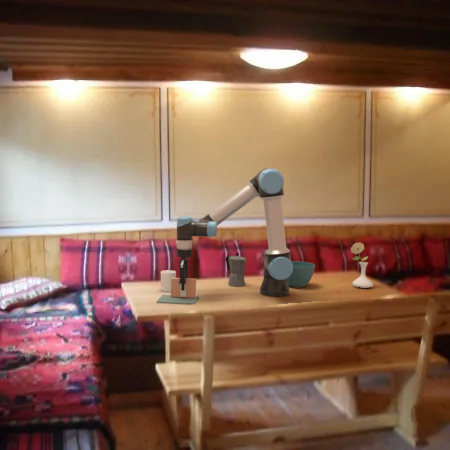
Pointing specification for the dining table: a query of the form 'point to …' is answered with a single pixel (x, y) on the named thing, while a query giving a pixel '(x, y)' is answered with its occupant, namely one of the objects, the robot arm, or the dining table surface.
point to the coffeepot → (236, 270)
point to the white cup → (167, 280)
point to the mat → (176, 300)
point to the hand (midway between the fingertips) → (183, 295)
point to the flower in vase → (362, 280)
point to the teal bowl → (301, 274)
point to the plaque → (189, 287)
